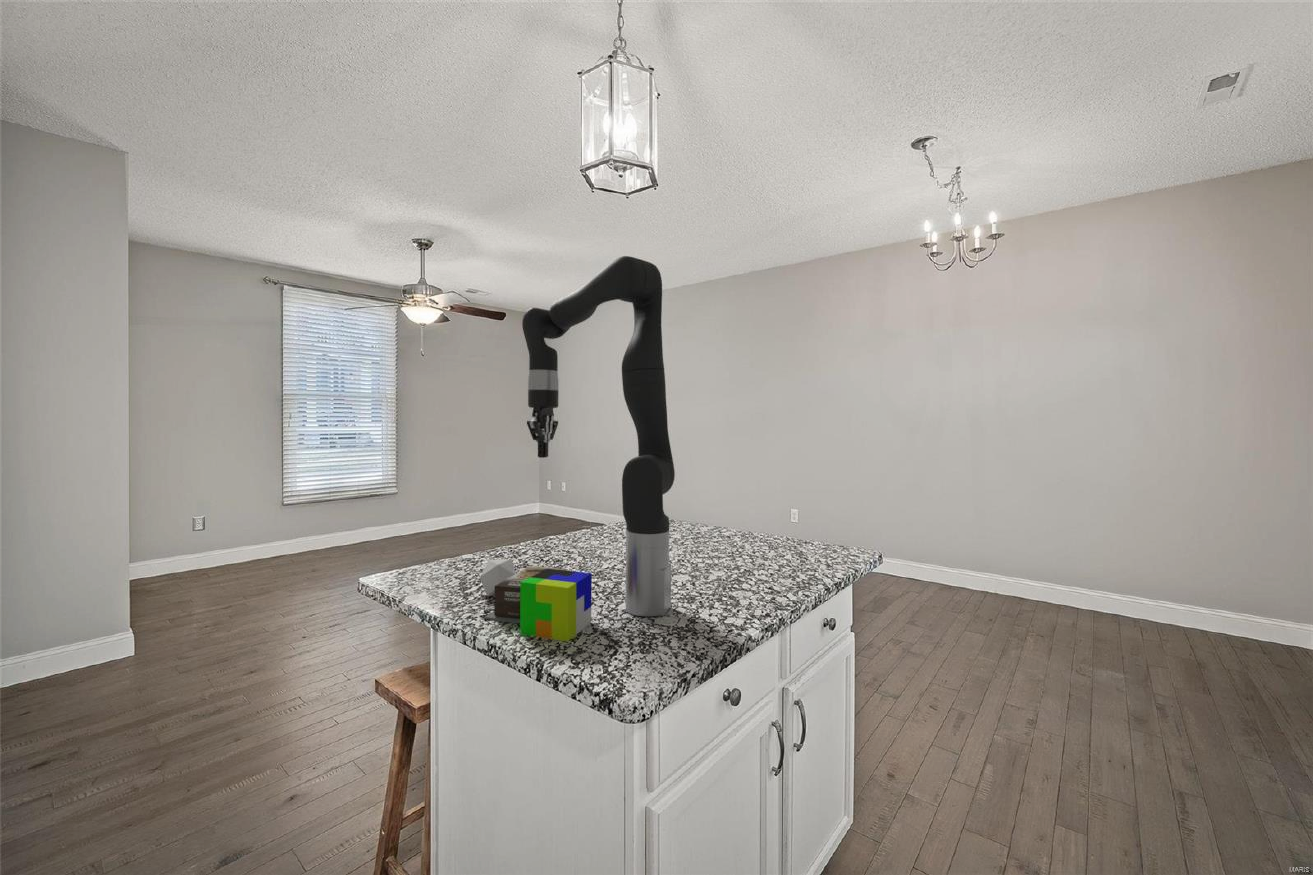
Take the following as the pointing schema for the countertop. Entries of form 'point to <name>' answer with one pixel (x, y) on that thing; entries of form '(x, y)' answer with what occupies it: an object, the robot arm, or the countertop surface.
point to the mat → (502, 618)
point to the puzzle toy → (555, 604)
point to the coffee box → (513, 592)
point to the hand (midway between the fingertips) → (543, 457)
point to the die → (496, 574)
